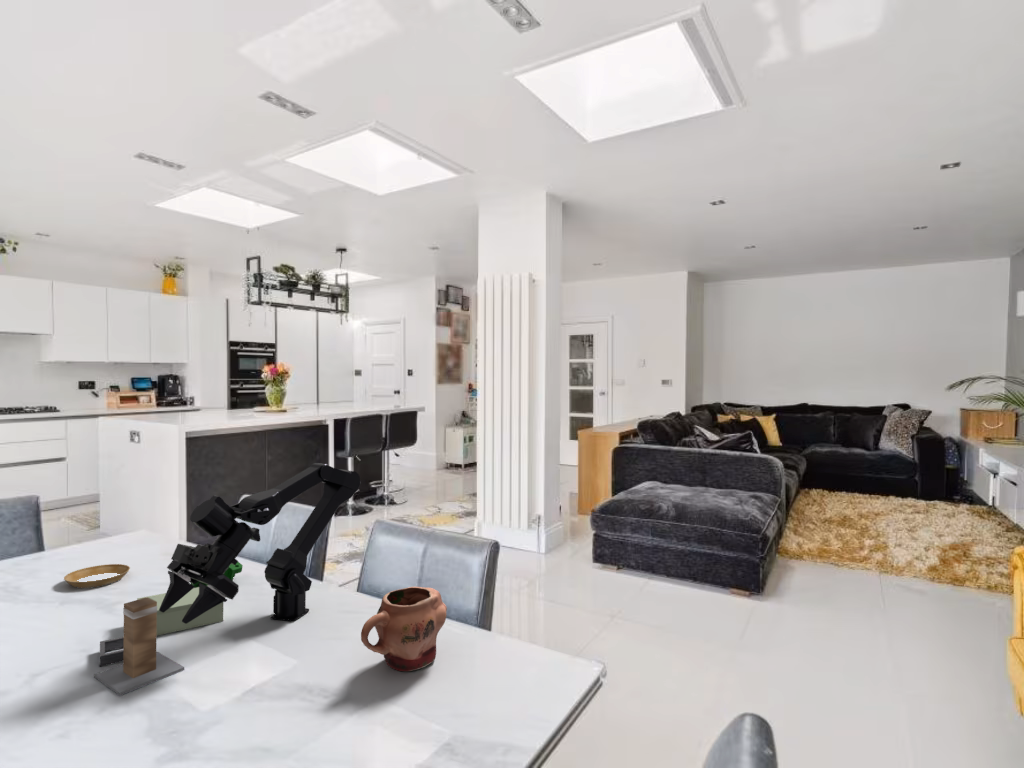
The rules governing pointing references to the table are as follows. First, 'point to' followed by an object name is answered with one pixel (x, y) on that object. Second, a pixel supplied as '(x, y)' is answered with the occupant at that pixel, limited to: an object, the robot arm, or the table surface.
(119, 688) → the mat
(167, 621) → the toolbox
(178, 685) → the table surface
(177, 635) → the table surface
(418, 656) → the terracotta mug
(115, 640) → the dark grey square frame
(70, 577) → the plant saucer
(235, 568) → the clamp
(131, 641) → the banded wooden block
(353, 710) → the table surface
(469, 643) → the table surface
